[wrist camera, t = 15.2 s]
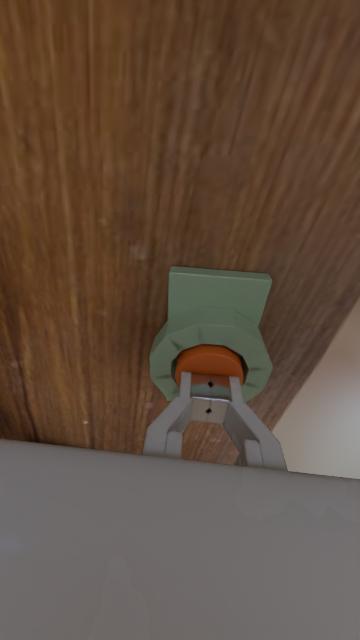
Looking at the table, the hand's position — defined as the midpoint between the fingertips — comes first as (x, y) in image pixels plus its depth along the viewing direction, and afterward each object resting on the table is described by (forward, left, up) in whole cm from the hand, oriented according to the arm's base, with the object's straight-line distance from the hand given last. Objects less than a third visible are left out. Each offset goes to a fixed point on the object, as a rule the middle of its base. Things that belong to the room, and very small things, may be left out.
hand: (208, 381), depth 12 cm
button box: (0, 0, -3) cm, 3 cm away
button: (0, 0, -2) cm, 2 cm away
